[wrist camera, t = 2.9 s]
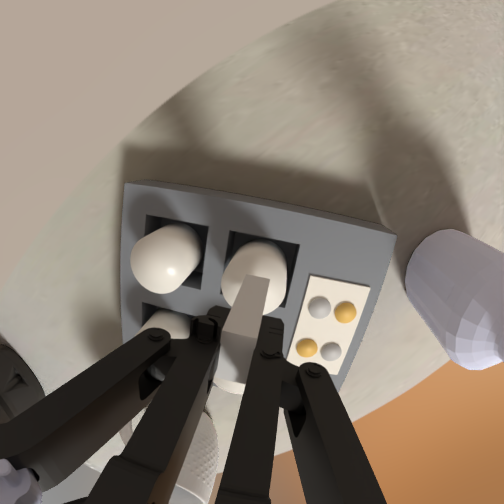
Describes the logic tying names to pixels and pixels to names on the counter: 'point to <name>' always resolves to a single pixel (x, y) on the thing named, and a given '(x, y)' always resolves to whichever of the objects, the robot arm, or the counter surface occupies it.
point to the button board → (297, 255)
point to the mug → (193, 464)
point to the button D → (257, 271)
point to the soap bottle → (460, 296)
